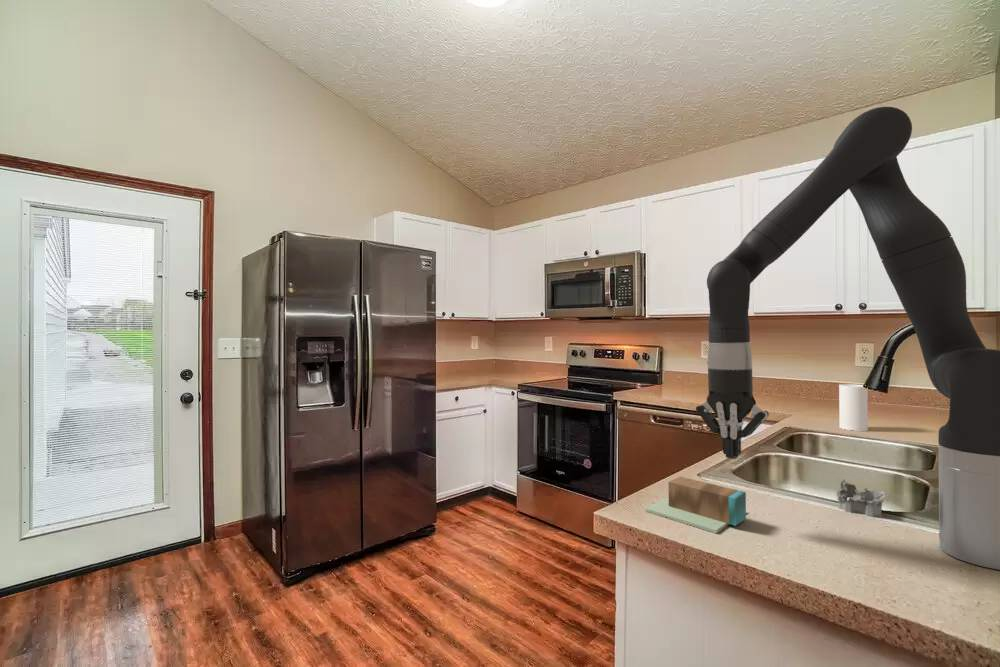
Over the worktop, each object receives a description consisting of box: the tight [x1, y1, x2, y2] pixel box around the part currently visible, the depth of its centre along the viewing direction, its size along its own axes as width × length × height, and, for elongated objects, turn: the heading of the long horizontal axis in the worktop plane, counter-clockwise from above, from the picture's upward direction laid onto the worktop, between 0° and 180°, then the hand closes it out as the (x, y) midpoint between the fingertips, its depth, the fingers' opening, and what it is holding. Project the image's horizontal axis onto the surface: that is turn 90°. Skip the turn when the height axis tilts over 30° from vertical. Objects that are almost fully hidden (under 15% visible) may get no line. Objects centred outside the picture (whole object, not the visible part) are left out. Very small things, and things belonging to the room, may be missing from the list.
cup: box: [838, 383, 869, 432], centre depth 166 cm, size 8×8×16 cm
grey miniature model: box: [836, 479, 886, 518], centre depth 93 cm, size 11×8×4 cm
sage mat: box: [645, 496, 730, 534], centre depth 91 cm, size 14×14×1 cm
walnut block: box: [667, 476, 747, 527], centre depth 89 cm, size 5×5×13 cm
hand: (731, 457), depth 86 cm, fingers closed
